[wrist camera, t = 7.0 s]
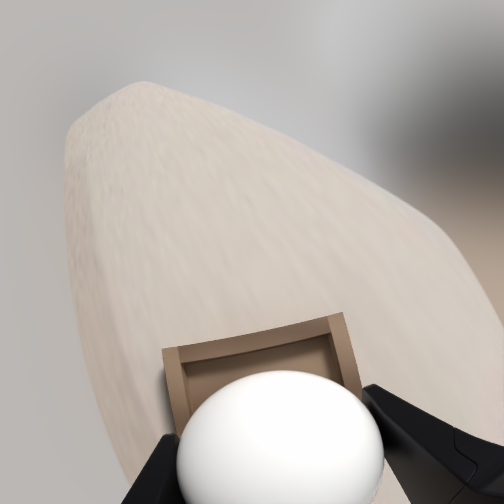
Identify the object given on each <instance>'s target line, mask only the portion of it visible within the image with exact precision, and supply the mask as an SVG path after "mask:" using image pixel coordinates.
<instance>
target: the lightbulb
mask: <svg viewBox="0 0 504 504" xmlns="http://www.w3.org/2000/svg"><path fill="white" fill-rule="evenodd" d="M383 470H384V446H383V441H382V437H381V433H380V431H379V428H378V426H377V423H376V421H375V419H374V418H373V416H372V414H371V413H370V412H369V410H368V409H367V407H366V406H365V405H364V404H363V403H362V402H361V401H360V400H359V399H358V398H357V397H356V396H355V395H354V394H353V393H351V392H350V391H349V390H347V389H346V388H344V387H343V386H341V385H339V384H338V383H336V382H334V381H332V380H330V379H327V378H325V377H322V376H319V375H315V374H312V373H307V372H302V371H293V370H274V371H266V372H260V373H256V374H252V375H248V376H245V377H242V378H240V379H237V380H235V381H233V382H231V383H229V384H227V385H225V386H224V387H222V388H220V389H219V390H218V391H216V392H215V393H213V394H212V395H211V396H210V397H209V398H207V399H206V400H205V401H204V402H203V403H202V404H201V405H200V406H199V408H198V409H197V410H196V411H195V412H194V414H193V415H192V416H191V418H190V420H189V421H188V423H187V425H186V427H185V429H184V431H183V433H182V436H181V439H180V442H179V445H178V450H177V457H176V473H177V480H178V485H179V488H180V491H181V494H182V496H183V499H184V501H185V503H186V504H371V503H372V501H373V499H374V498H375V496H376V493H377V491H378V489H379V486H380V483H381V480H382V475H383Z"/></svg>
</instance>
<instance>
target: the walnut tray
mask: <svg viewBox="0 0 504 504" xmlns="http://www.w3.org/2000/svg"><path fill="white" fill-rule="evenodd" d="M162 355H163V361H164V368H165V374H166V380H167V386H168V392H169V397H170V402H171V408H172V413H173V418H174V423H175V427H176V432H177V436H178V437H179V439H181V436H182V433H183V431H184V429H185V427H186V425H187V423H188V421H189V420H190V418H191V416H192V415H193V414H194V412H195V411H196V410H197V409H198V408H199V406H200V405H201V404H202V403H203V402H204V401H205V400H206V399H207V398H209V397H210V396H211V395H212V394H213V393H215V392H216V391H218V390H219V389H220V388H222V387H224V386H225V385H227V384H229V383H231V382H233V381H235V380H237V379H240V378H242V377H245V376H248V375H252V374H256V373H260V372H266V371H274V370H293V371H302V372H307V373H312V374H315V375H319V376H322V377H325V378H327V379H330V380H332V381H334V382H336V383H338V384H339V385H341V386H343V387H344V388H346V389H347V390H349V391H350V392H351V393H353V394H354V395H355V396H356V397H357V398H358V399H359V400H360V401H361V399H362V385H361V381H360V377H359V373H358V368H357V364H356V360H355V357H354V353H353V349H352V345H351V341H350V337H349V334H348V330H347V326H346V323H345V319H344V316H343V312H341V313H337V314H333V315H329V316H325V317H321V318H317V319H313V320H309V321H305V322H301V323H297V324H292V325H288V326H284V327H279V328H275V329H270V330H265V331H261V332H256V333H251V334H246V335H241V336H236V337H231V338H225V339H220V340H214V341H209V342H203V343H197V344H191V345H184V346H178V347H171V348H165V349H162Z"/></svg>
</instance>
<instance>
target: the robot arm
mask: <svg viewBox="0 0 504 504" xmlns="http://www.w3.org/2000/svg"><path fill="white" fill-rule="evenodd" d="M361 402H362V403H363V404H364V405H365V406H366V407H367V409H368V410H369V412H370V413H371V414H372V416H373V418H374V419H375V421H376V423H377V426H378V428H379V431H380V433H381V437H382V441H383V446H384V457H385V459H386V460H387V462H388V464H389V466H390V467H391V469H392V471H393V473H394V474H395V476H396V478H397V480H398V481H399V483H400V485H401V487H402V488H403V490H404V492H405V494H406V496H407V497H408V499H409V501H410V503H411V504H504V446H501V445H498V444H494V443H491V442H488V441H485V440H483V439H480V438H477V437H475V436H472V435H470V434H468V433H466V432H464V431H462V430H460V429H458V428H456V427H453V426H452V425H450V424H448V423H446V422H444V421H442V420H440V419H438V418H436V417H434V416H432V415H430V414H429V413H427V412H425V411H423V410H421V409H419V408H417V407H416V406H414V405H412V404H410V403H408V402H406V401H405V400H403V399H401V398H399V397H397V396H395V395H394V394H392V393H390V392H388V391H387V390H385V389H383V388H381V387H380V386H378V385H376V384H371V385H368V386H366V387H364V388H363V389H362V399H361ZM179 442H180V439H179V437H178V436H177V435H176V434H175V433H172V434H165V435H163V436H162V438H161V439H160V441H159V443H158V444H157V446H156V448H155V449H154V451H153V453H152V454H151V456H150V457H149V459H148V461H147V462H146V464H145V466H144V467H143V469H142V471H141V472H140V474H139V475H138V477H137V479H136V480H135V482H134V484H133V485H132V487H131V488H130V490H129V492H128V493H127V495H126V497H125V498H124V500H123V501H122V503H121V504H186V503H185V501H184V499H183V496H182V494H181V491H180V488H179V485H178V480H177V473H176V457H177V450H178V445H179Z"/></svg>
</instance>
